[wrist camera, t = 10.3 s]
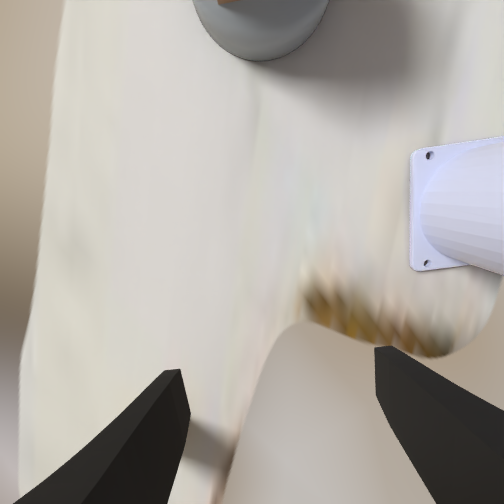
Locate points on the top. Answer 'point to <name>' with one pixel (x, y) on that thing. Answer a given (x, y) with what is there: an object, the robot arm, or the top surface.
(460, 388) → the robot arm
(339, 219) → the top surface
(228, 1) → the walnut block
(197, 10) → the grey rounded dome
